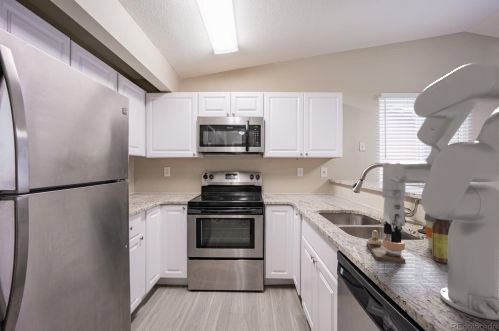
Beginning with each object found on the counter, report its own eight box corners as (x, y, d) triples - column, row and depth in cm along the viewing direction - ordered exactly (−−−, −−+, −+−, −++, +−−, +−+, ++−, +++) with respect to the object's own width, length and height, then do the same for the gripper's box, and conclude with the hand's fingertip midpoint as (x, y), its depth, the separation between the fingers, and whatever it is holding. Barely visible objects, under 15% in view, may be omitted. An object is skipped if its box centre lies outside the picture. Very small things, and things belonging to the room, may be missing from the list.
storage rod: (402, 258, 85) (403, 239, 85) (387, 256, 87) (387, 238, 87) (398, 253, 90) (398, 235, 90) (384, 251, 91) (384, 234, 91)
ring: (407, 251, 84) (407, 244, 84) (385, 249, 86) (385, 242, 86) (400, 245, 91) (400, 238, 91) (380, 243, 93) (380, 237, 93)
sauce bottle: (457, 265, 83) (458, 210, 83) (438, 263, 84) (438, 209, 84) (446, 258, 90) (446, 207, 89) (428, 256, 91) (428, 206, 91)
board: (405, 263, 84) (405, 259, 84) (376, 260, 87) (376, 256, 87) (390, 246, 101) (390, 243, 101) (366, 244, 104) (367, 241, 104)
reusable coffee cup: (446, 245, 104) (447, 212, 104) (470, 256, 92) (471, 218, 92) (417, 244, 105) (417, 211, 105) (437, 254, 93) (437, 217, 93)
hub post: (382, 247, 97) (383, 232, 97) (369, 245, 98) (369, 231, 98) (379, 243, 102) (380, 229, 102) (367, 242, 103) (367, 228, 103)
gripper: (413, 198, 79) (411, 247, 80) (397, 191, 96) (395, 232, 96) (388, 197, 81) (387, 244, 82) (377, 190, 98) (375, 230, 98)
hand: (391, 237), depth 89 cm, fingers open, 9 cm apart
